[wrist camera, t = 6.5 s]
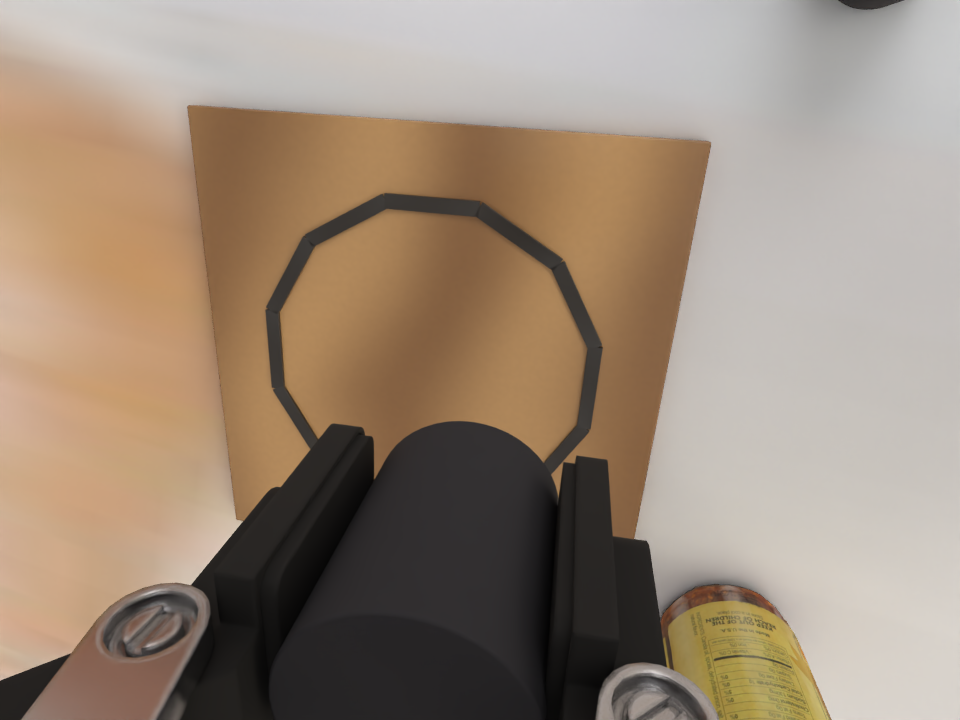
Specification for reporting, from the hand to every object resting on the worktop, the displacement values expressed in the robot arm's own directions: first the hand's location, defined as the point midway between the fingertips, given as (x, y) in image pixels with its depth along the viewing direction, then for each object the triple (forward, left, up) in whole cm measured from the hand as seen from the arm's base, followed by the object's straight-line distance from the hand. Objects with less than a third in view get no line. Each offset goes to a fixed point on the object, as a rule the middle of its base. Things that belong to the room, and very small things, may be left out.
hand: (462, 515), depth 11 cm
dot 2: (0, 0, 0) cm, 0 cm away
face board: (+4, +4, -16) cm, 17 cm away
